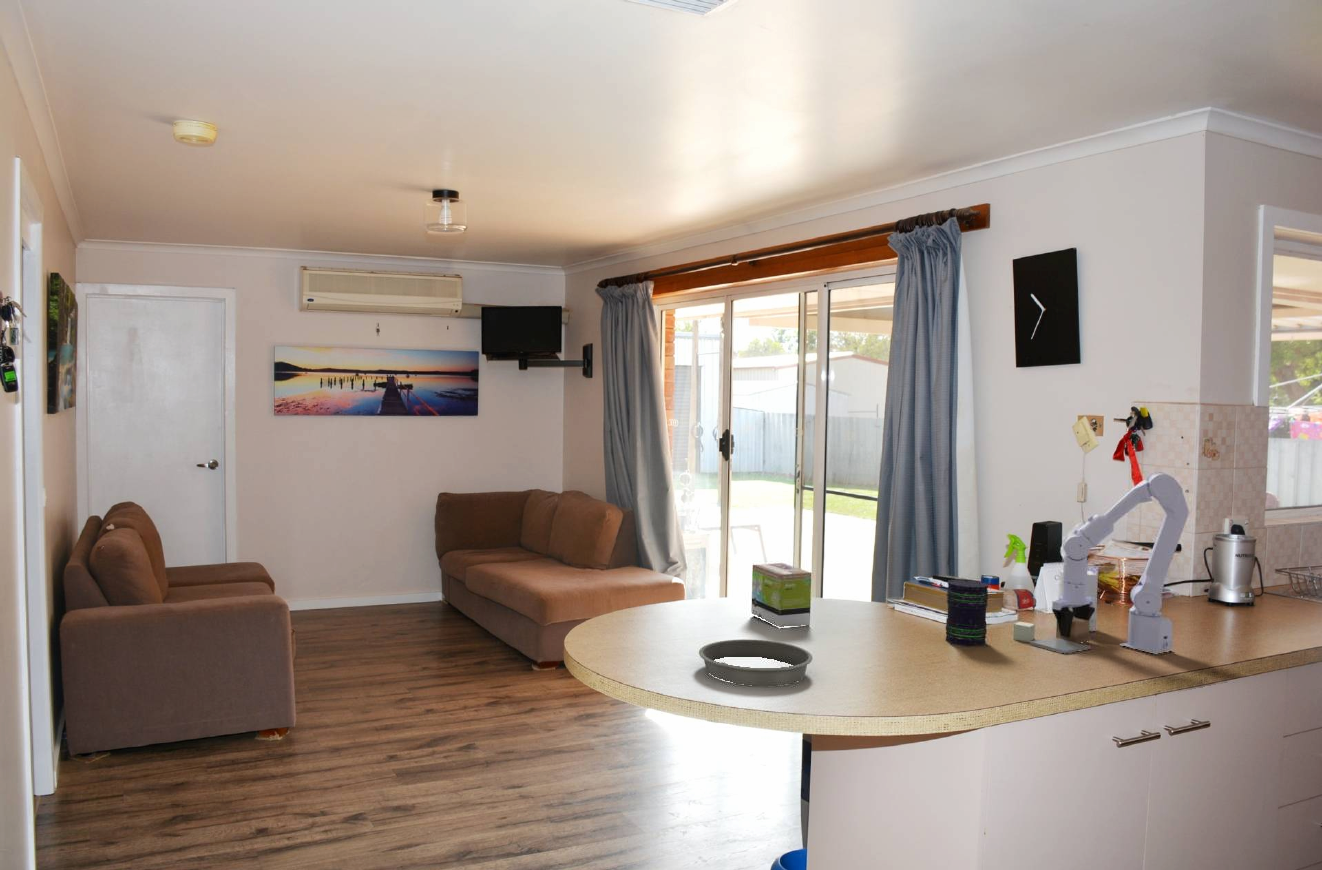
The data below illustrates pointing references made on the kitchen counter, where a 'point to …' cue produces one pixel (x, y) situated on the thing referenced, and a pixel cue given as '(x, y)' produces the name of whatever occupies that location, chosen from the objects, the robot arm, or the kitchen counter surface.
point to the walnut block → (1076, 631)
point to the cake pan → (756, 649)
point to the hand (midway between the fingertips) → (1072, 635)
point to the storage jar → (966, 612)
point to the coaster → (1059, 645)
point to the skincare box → (1087, 595)
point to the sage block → (1024, 631)
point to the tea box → (781, 594)
